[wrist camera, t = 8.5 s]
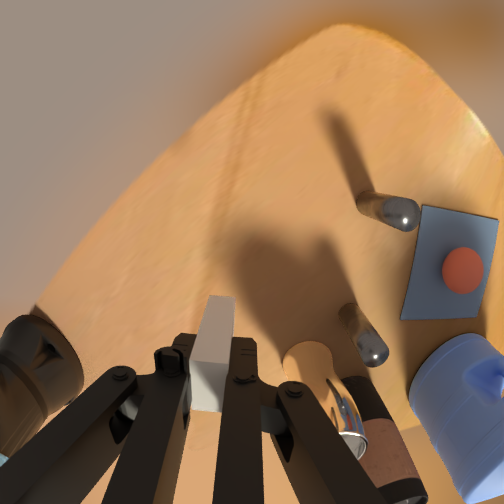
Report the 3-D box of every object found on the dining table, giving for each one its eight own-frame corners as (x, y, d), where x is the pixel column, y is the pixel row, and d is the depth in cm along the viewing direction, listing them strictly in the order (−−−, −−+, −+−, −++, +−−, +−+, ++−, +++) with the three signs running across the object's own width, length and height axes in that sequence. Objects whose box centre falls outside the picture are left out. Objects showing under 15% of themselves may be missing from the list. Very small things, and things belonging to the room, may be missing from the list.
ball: (474, 290, 30) (438, 281, 33) (484, 248, 29) (446, 239, 32) (479, 304, 26) (437, 295, 29) (491, 257, 24) (447, 247, 27)
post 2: (337, 323, 33) (360, 368, 25) (341, 303, 33) (367, 344, 24) (357, 323, 33) (384, 366, 25) (362, 303, 33) (392, 343, 24)
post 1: (354, 214, 30) (391, 230, 22) (357, 189, 30) (395, 196, 21) (376, 216, 30) (418, 233, 22) (379, 192, 30) (422, 201, 21)
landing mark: (399, 319, 33) (400, 319, 33) (422, 205, 30) (423, 205, 30) (475, 316, 34) (476, 317, 33) (498, 220, 30) (499, 220, 30)
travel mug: (376, 403, 37) (425, 511, 18) (327, 420, 37) (356, 537, 18) (372, 366, 35) (435, 485, 16) (317, 385, 36) (351, 517, 16)
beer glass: (307, 390, 36) (327, 482, 21) (266, 365, 35) (272, 463, 20) (346, 355, 35) (386, 443, 20) (306, 326, 33) (335, 419, 19)
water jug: (440, 418, 39) (506, 531, 12) (387, 399, 37) (460, 556, 10) (497, 349, 35) (593, 445, 8) (455, 314, 33) (589, 442, 6)
